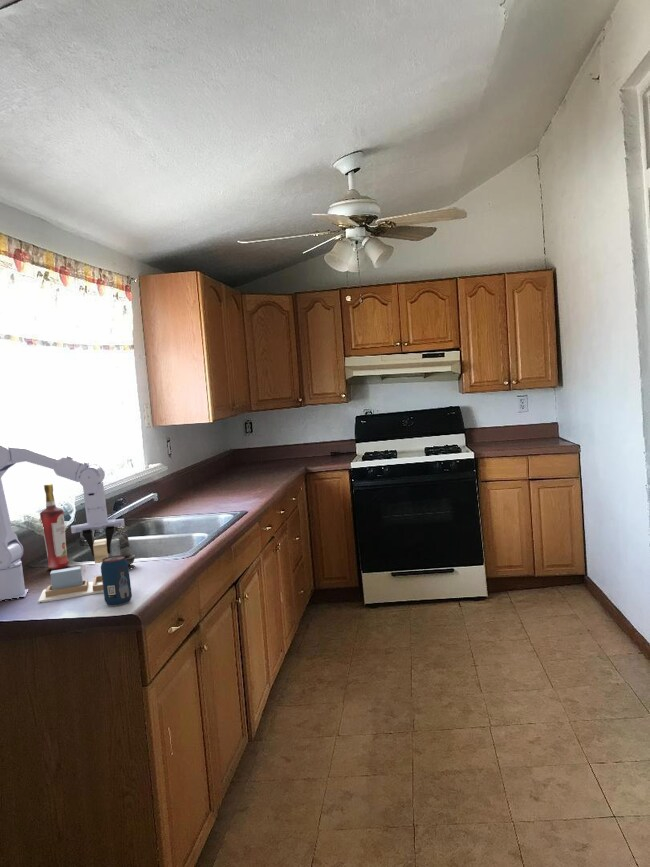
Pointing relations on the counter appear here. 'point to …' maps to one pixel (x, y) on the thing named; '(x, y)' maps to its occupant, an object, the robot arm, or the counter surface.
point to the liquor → (54, 532)
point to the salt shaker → (126, 549)
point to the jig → (73, 590)
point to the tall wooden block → (100, 550)
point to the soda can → (116, 580)
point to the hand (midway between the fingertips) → (101, 554)
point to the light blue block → (66, 578)
